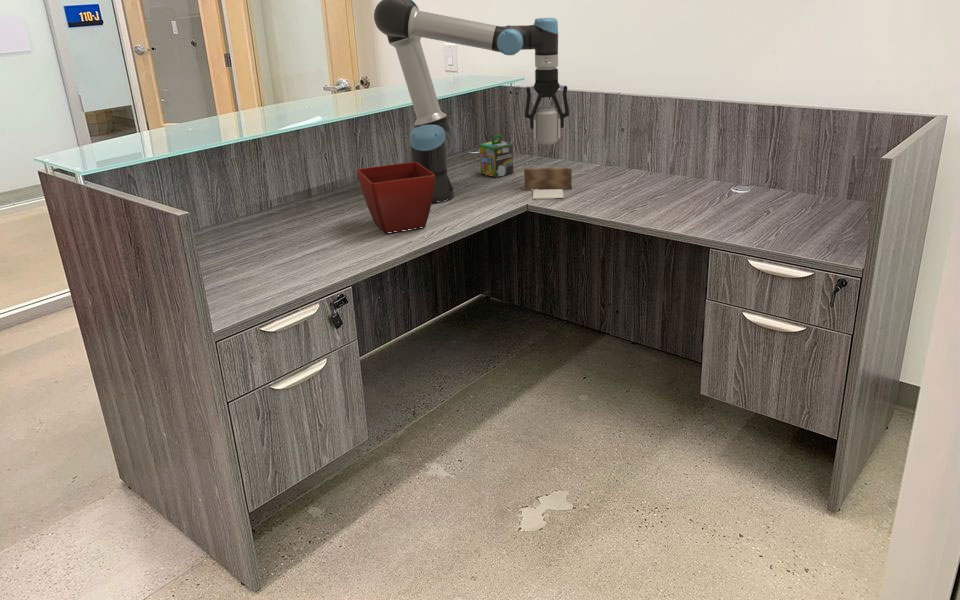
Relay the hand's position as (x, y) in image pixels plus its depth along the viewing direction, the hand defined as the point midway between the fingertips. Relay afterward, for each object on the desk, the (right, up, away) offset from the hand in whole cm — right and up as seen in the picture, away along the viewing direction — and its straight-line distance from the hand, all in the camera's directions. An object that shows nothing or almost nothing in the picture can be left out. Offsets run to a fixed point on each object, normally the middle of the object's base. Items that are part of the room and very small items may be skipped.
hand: (546, 137), depth 258 cm
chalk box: (-16, -8, +26) cm, 32 cm away
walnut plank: (+1, -17, +4) cm, 17 cm away
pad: (0, -20, -3) cm, 20 cm away
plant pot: (-47, -33, -27) cm, 63 cm away
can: (0, -2, +1) cm, 2 cm away
